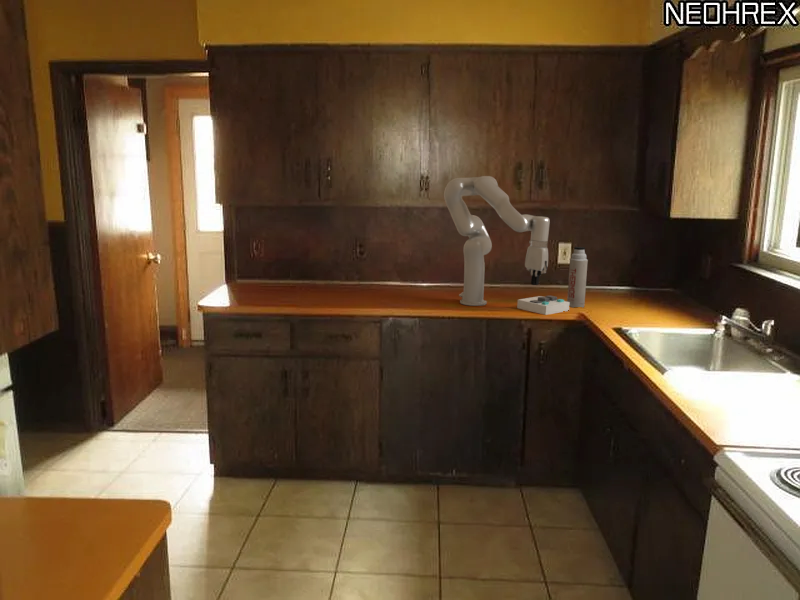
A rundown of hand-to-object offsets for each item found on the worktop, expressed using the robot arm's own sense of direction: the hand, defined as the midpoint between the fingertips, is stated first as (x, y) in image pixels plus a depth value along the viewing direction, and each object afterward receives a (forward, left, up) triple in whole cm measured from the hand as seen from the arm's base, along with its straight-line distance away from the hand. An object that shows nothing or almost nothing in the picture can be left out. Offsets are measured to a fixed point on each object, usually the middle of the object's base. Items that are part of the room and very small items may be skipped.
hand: (534, 284), depth 299 cm
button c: (+1, +11, -10) cm, 15 cm away
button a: (+1, 0, -11) cm, 11 cm away
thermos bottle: (+4, +25, -12) cm, 28 cm away
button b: (+1, +6, -10) cm, 12 cm away
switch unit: (+1, +6, -12) cm, 13 cm away
